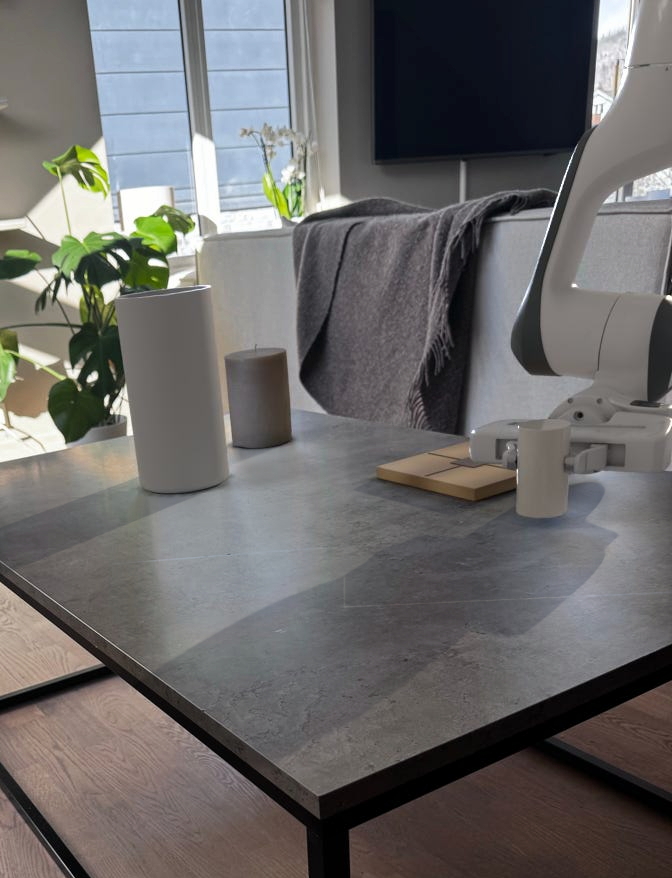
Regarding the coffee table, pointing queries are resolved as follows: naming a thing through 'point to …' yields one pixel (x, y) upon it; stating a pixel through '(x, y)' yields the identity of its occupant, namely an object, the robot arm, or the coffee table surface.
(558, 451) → the white cylinder
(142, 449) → the cylinder vase
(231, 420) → the pillar candle
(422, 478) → the game board
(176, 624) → the coffee table surface
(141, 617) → the coffee table surface
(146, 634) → the coffee table surface
